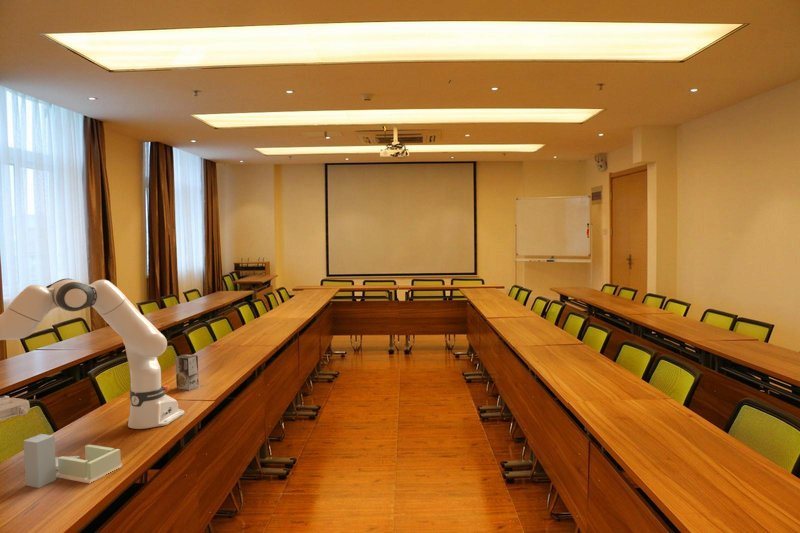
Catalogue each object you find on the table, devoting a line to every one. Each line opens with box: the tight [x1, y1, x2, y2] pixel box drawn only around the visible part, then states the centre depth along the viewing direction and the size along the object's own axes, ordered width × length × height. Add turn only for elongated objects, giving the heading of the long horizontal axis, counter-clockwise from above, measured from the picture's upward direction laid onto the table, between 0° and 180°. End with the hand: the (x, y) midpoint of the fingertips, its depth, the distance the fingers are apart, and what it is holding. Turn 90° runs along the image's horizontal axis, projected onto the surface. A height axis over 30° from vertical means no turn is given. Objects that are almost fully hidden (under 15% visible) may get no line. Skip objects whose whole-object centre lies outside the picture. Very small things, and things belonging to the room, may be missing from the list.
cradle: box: [56, 444, 123, 484], centre depth 163 cm, size 12×14×6 cm
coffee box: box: [174, 354, 200, 391], centre depth 254 cm, size 9×6×16 cm
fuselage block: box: [23, 433, 57, 489], centre depth 156 cm, size 6×6×14 cm
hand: (9, 417), depth 159 cm, fingers open, 8 cm apart
